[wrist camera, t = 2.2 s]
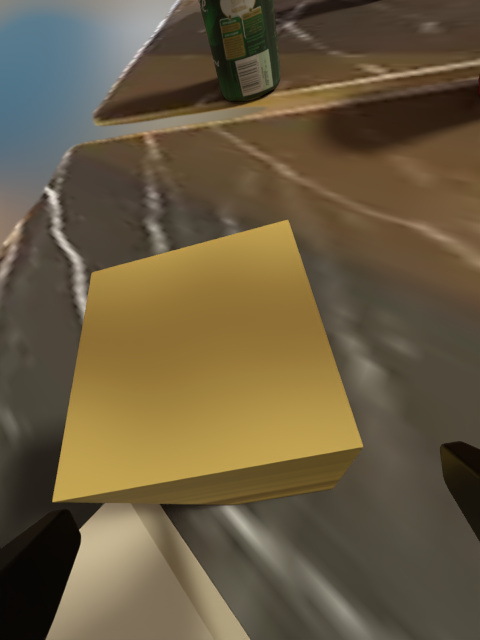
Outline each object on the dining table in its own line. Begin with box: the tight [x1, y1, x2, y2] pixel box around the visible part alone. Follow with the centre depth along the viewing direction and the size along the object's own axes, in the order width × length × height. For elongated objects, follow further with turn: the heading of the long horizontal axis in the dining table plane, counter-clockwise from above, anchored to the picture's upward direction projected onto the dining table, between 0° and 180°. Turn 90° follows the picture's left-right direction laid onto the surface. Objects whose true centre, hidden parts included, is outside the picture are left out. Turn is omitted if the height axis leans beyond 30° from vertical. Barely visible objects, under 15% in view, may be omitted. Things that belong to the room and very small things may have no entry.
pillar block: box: [52, 220, 363, 505], centre depth 11 cm, size 5×5×13 cm
